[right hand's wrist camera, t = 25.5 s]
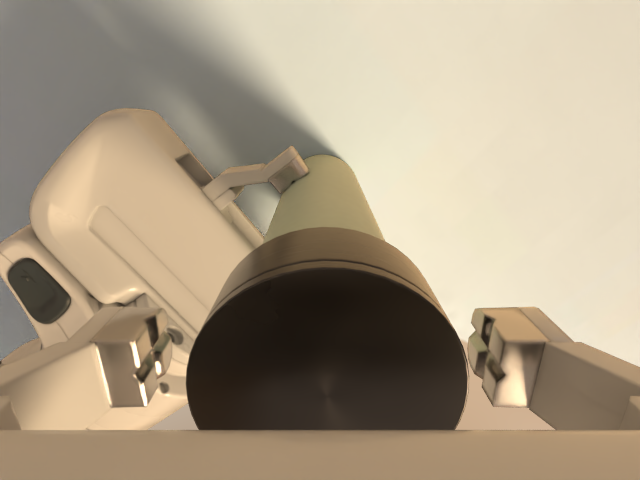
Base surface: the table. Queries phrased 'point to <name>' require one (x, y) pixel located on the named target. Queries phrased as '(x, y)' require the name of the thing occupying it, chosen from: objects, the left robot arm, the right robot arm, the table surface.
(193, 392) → the lid
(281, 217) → the pale green tall cylinder
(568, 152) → the table surface
